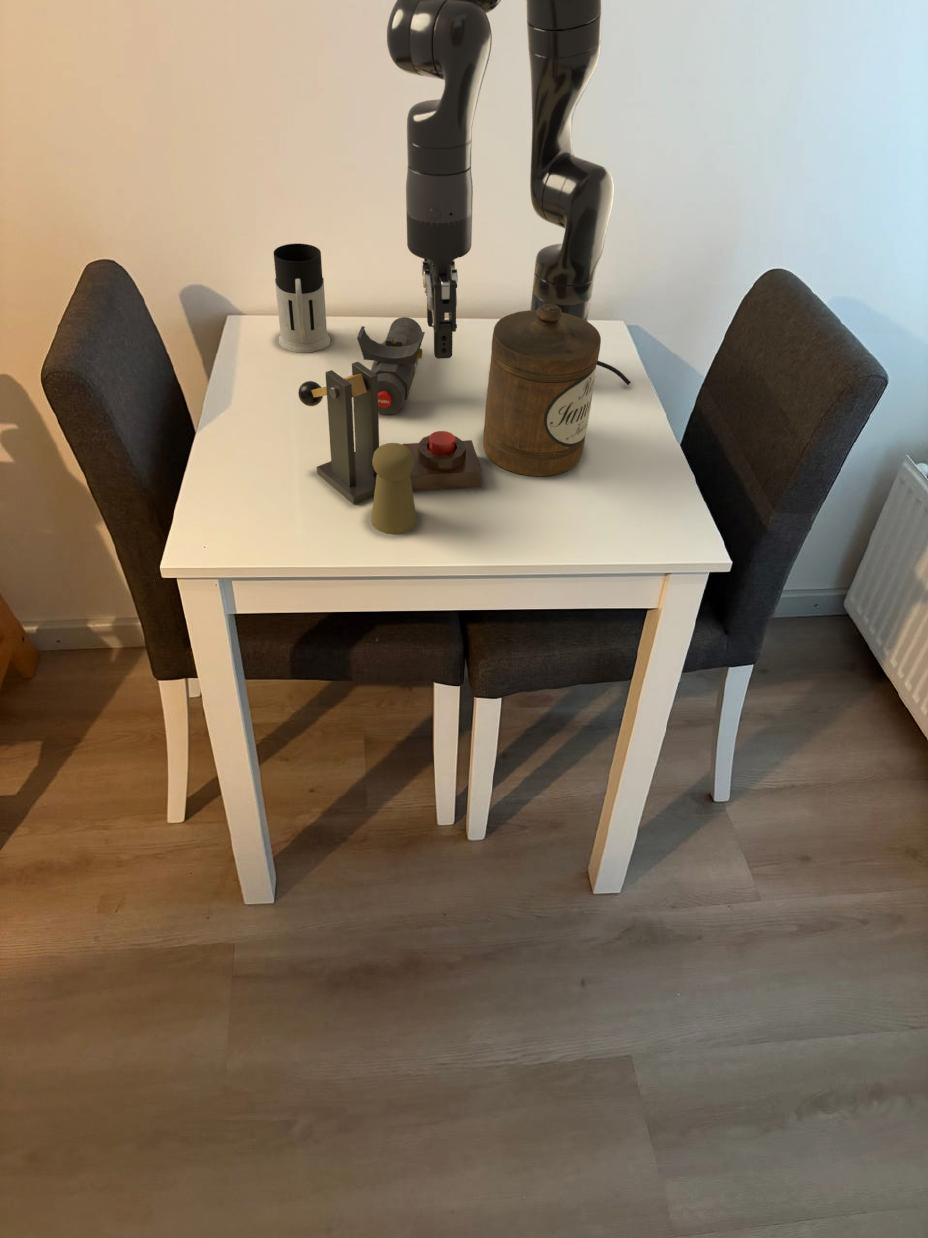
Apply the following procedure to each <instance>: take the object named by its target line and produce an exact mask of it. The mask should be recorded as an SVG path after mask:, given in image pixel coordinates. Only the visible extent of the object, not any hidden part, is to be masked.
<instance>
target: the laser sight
mask: <svg viewBox="0 0 928 1238" xmlns="http://www.w3.org/2000/svg"><path fill="white" fill-rule="evenodd" d="M365 329H366V326H364V325H361V327H360V329H359V331H358V334H357V336H356V339H357V342H358V346H359V349H360V351H361V355H362V357H363V360H364V361H372V362H373V363H372V366H371V368H370V370H371V371H372V372H374V373H375V374H377V375H378V414H380V415H385V416H386V415H387V416H388V415H394V414H396V413H397V412H398V411H400V410H401V409H402V407H403V405H404V402H406V401H407V400H408V398H409V395H410V392H411V389H412V384H413V382H414V379H415V374H416V371H417V367H418V364H419V359H423V348H421V347H422V344H423V340H424V338H425V337H424V336H425V333H426V332H425V331H423V329H422V327H421V325H420V324H419V323H418V322H417V320H415V319H413V318H412V317H407V316H402V317H398V318H396V319H394V321H393V322H392V323H391V324H390V327H389V330H388V333H387V336H386V338H385V340H384V341H383V342H382V343H379V342H377V341H376V340H374V339H372V338H371V337H370V336H369V334H368V333H367V331H366V330H365Z"/></svg>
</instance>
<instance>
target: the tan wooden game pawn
mask: <svg viewBox="0 0 928 1238" xmlns="http://www.w3.org/2000/svg"><path fill="white" fill-rule="evenodd" d="M403 444H404V443H398V442H388V443H384V444H381V445H379V447H378V448H377V449H376V451H375V452H374V455H373V459H372V462H373V467H374V470H375V472H376V473H377V478H376V486H375V493H374V496H373V500H372V501H373V503H372V508H371V509H372V510H371V518H370V523H371V526H373V527H374V529H375V530H377V531H378V532H380V533H383V534H387V535H401V534H402V535H403V534H404V533H408V532H409V531H411V530H413V529H414V528H415V526H416V525H417V521H418V519H417V512H416V505H415V498H414V493H413V491H412V485H411V478H410V473H411V472H412V470H413V466H414V457H413V454H412V452H411V450H410V449H409V448H408V447H407V446H405V445H403Z"/></svg>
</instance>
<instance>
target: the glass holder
mask: <svg viewBox="0 0 928 1238" xmlns="http://www.w3.org/2000/svg"><path fill="white" fill-rule="evenodd" d="M272 254H273V261H274V272H275V279H274V283H275V293H276V302H277V303H276V304H277V313H278V322H279V323H278V324H279V333H280V334H279V337H278V341H277V342H278V345H280V347H281V348H283V349H284V350H286V351H290V352H293V353H313V352H317V351H321V350H323V349H325V348H327V347H328V346H329V345H330V343H331V338H330V335H329V334H328V327H327V325H328V324H327V313H326V309H327V308H326V297H325V296H326V293H325V280H324V277H323V265H322V252H321V250H320V248H318V247H316V246H315V245H312V244H307V243H287V244H283V245H280V246H278V247H276V248H275V249H274V250H273V253H272Z"/></svg>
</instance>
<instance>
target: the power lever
mask: <svg viewBox="0 0 928 1238" xmlns="http://www.w3.org/2000/svg"><path fill="white" fill-rule="evenodd" d="M343 378H344V379H345V380H346V381H348V382H349V383H350V384H351V385H352V398H353V397H355V396H358V395H361V394H364V393H367V390H366V387H365V384H364V380H363V377H362V374H357V375H352V374H351V375H349V376H346V377H343ZM297 393H298V398H299V400H300V402H301V403H302V404H303V405H305V406H307V407H315V406H318V405H319V404H321V402H322V401H323V398H324V397H325V396H326V397H327V389H326V386H321V385H320V384H319V383H318V382H316V381H313V380H307V381H305V382H303V383H301V385H300V386H299V388H298V391H297Z"/></svg>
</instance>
